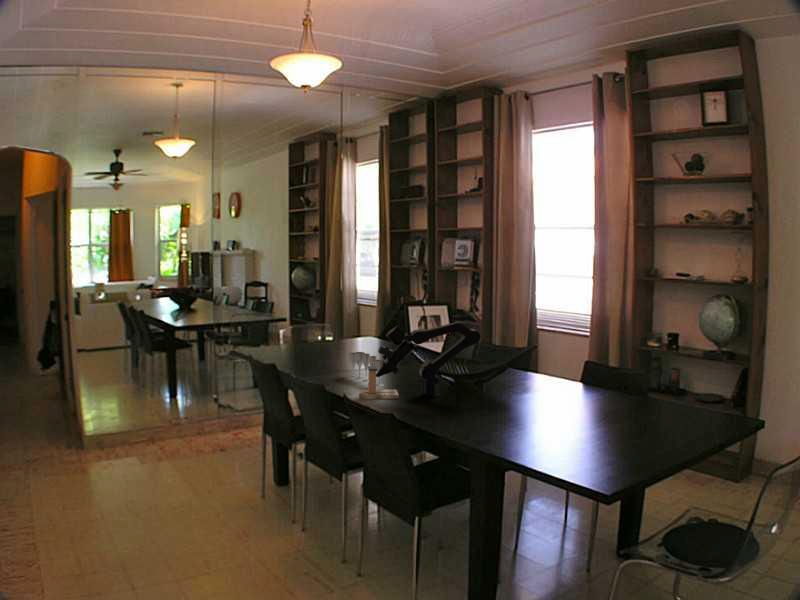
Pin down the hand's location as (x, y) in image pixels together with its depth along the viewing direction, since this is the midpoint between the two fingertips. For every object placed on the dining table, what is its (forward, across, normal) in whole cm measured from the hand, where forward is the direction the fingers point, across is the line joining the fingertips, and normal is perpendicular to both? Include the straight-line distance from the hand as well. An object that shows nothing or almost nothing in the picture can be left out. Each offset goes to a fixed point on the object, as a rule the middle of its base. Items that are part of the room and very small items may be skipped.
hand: (376, 376), depth 269 cm
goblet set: (+8, -30, +5) cm, 31 cm away
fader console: (+5, 0, +7) cm, 9 cm away
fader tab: (+6, 0, +4) cm, 7 cm away
